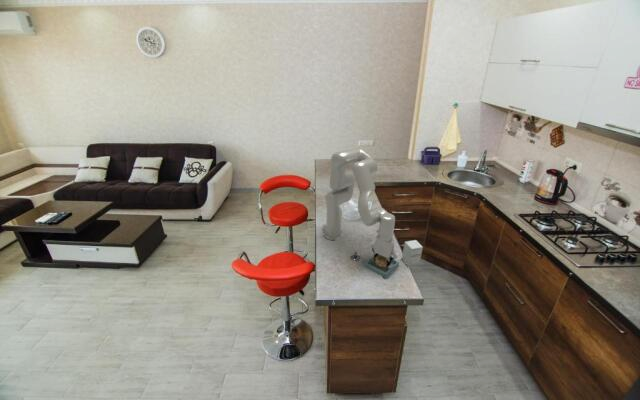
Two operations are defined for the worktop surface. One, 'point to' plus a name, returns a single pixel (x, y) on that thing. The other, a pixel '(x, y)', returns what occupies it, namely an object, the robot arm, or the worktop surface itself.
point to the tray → (380, 270)
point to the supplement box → (412, 253)
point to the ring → (381, 263)
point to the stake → (355, 257)
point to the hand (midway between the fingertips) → (382, 262)
